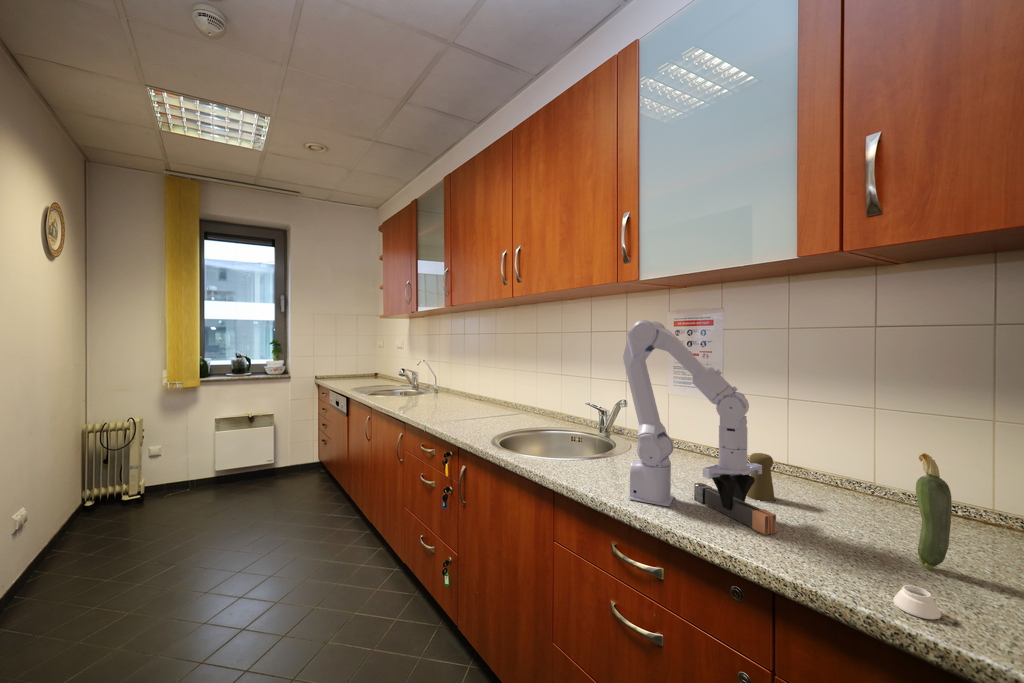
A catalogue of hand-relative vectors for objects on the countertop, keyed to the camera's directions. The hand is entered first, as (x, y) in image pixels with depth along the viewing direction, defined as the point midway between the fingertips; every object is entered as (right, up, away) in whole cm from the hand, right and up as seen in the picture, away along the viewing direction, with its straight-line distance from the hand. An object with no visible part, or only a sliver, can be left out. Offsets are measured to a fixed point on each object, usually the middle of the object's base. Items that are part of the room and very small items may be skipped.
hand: (732, 507), depth 97 cm
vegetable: (+23, -2, -23) cm, 32 cm away
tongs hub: (-3, -2, +9) cm, 10 cm away
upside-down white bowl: (+10, -2, -34) cm, 35 cm away
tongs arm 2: (+1, -2, -1) cm, 2 cm away
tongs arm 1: (0, -2, -2) cm, 2 cm away
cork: (+13, -2, +12) cm, 18 cm away
